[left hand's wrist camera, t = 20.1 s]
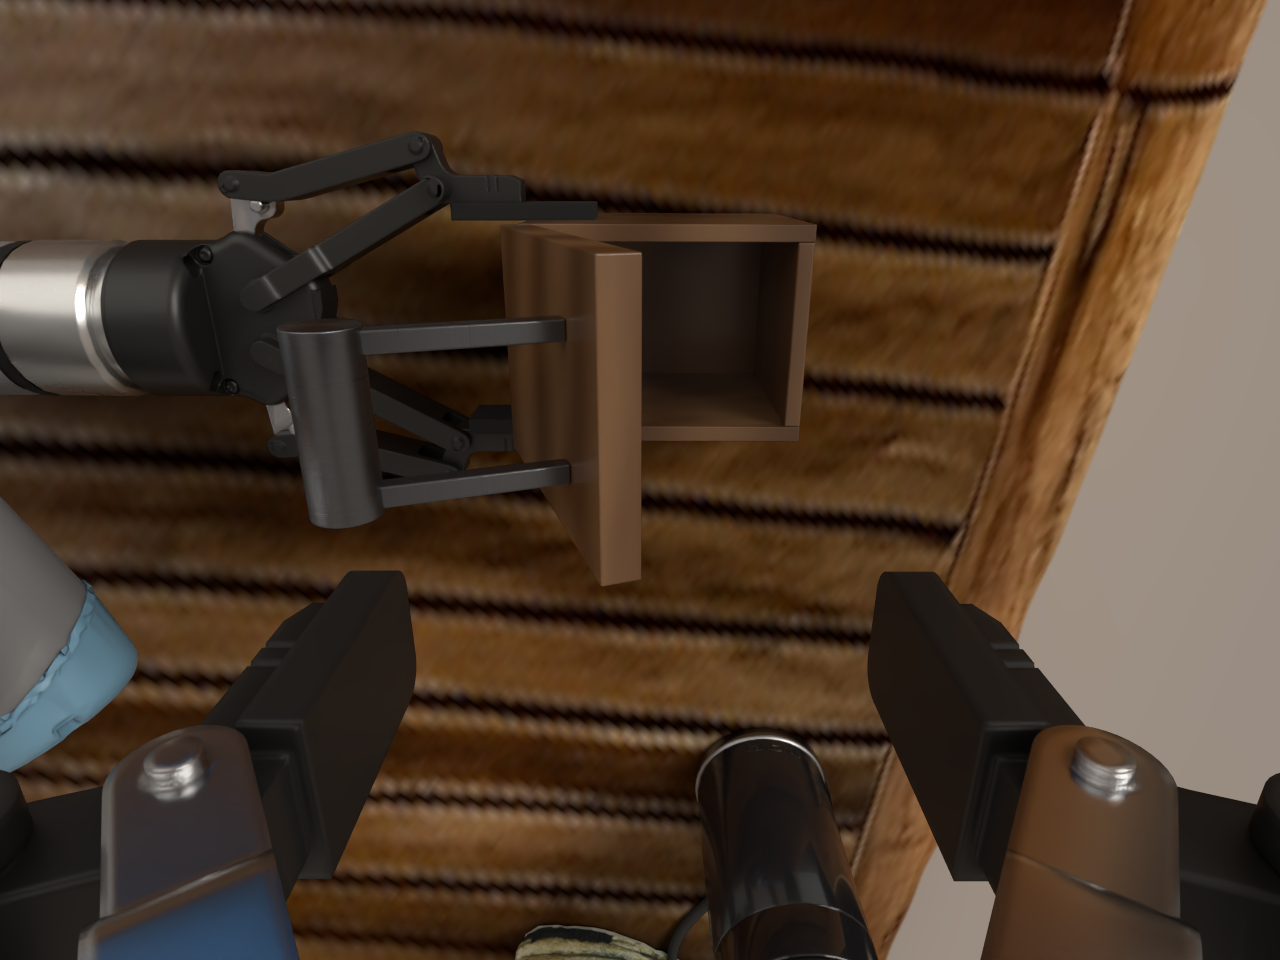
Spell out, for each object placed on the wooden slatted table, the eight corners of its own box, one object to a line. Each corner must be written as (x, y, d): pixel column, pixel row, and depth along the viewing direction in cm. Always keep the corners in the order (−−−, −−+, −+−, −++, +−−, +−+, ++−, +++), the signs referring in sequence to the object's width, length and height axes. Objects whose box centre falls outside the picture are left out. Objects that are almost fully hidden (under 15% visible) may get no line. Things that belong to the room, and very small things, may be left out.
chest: (774, 213, 42) (817, 224, 31) (763, 382, 45) (798, 442, 35) (548, 212, 42) (518, 223, 31) (555, 381, 45) (529, 440, 35)
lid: (642, 251, 19) (247, 263, 16) (641, 580, 23) (316, 637, 20) (530, 224, 31) (288, 228, 28) (541, 444, 34) (327, 467, 32)
